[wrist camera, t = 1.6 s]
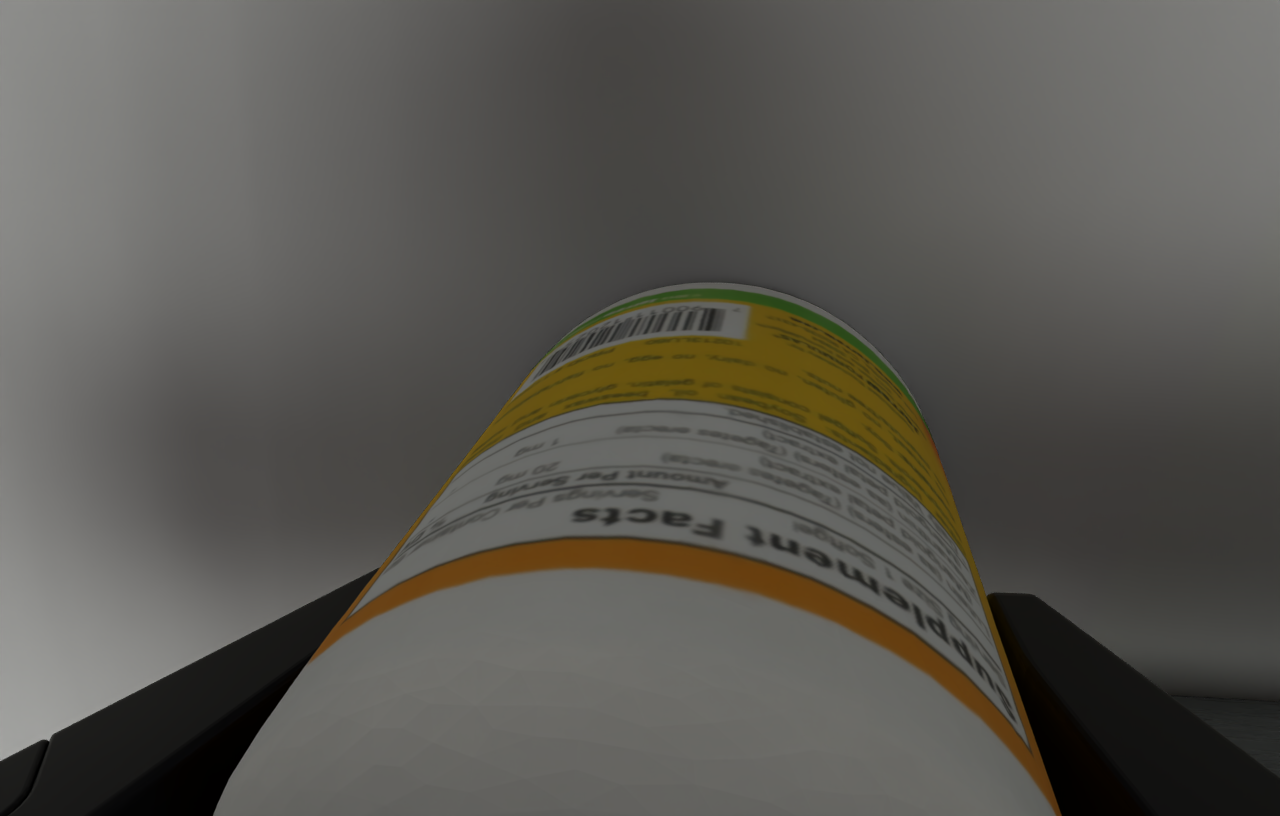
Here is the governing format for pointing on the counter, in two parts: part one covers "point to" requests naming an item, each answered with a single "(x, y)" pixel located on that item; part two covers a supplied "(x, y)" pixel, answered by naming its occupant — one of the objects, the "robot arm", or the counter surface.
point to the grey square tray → (1243, 724)
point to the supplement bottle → (671, 600)
